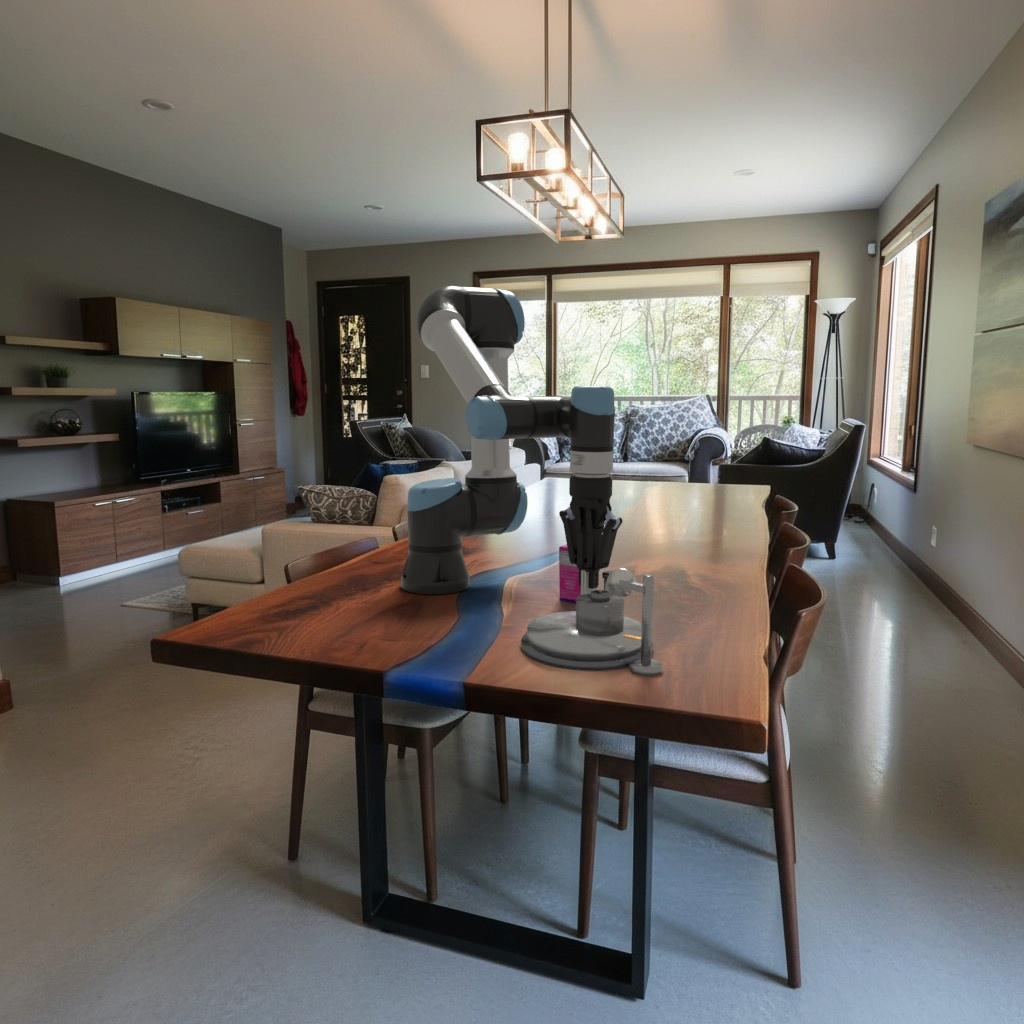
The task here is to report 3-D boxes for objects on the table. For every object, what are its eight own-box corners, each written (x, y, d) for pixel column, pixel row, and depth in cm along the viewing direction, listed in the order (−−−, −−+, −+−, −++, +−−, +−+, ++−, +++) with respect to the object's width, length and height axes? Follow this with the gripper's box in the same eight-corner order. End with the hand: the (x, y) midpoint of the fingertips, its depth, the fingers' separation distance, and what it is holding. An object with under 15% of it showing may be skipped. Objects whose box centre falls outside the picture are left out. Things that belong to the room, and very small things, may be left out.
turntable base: (498, 657, 122) (498, 650, 122) (551, 620, 142) (551, 615, 142) (629, 679, 113) (629, 672, 113) (667, 637, 132) (667, 631, 132)
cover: (566, 630, 126) (567, 594, 125) (589, 618, 132) (590, 584, 131) (609, 639, 121) (610, 601, 120) (631, 626, 128) (632, 591, 127)
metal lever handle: (597, 668, 118) (599, 573, 115) (607, 658, 122) (609, 566, 120) (657, 678, 113) (660, 579, 111) (665, 667, 118) (669, 572, 115)
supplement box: (573, 594, 160) (574, 541, 159) (597, 598, 157) (598, 544, 155) (557, 599, 156) (558, 545, 154) (581, 604, 152) (582, 549, 151)
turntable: (503, 644, 125) (503, 586, 123) (565, 615, 141) (566, 564, 139) (612, 669, 113) (614, 606, 112) (665, 634, 130) (667, 579, 128)
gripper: (549, 473, 134) (548, 601, 138) (605, 480, 125) (602, 616, 129) (577, 470, 139) (575, 593, 143) (633, 476, 130) (629, 608, 134)
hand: (588, 604), depth 136 cm, fingers closed
